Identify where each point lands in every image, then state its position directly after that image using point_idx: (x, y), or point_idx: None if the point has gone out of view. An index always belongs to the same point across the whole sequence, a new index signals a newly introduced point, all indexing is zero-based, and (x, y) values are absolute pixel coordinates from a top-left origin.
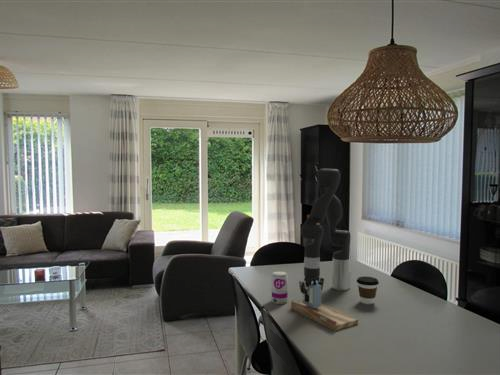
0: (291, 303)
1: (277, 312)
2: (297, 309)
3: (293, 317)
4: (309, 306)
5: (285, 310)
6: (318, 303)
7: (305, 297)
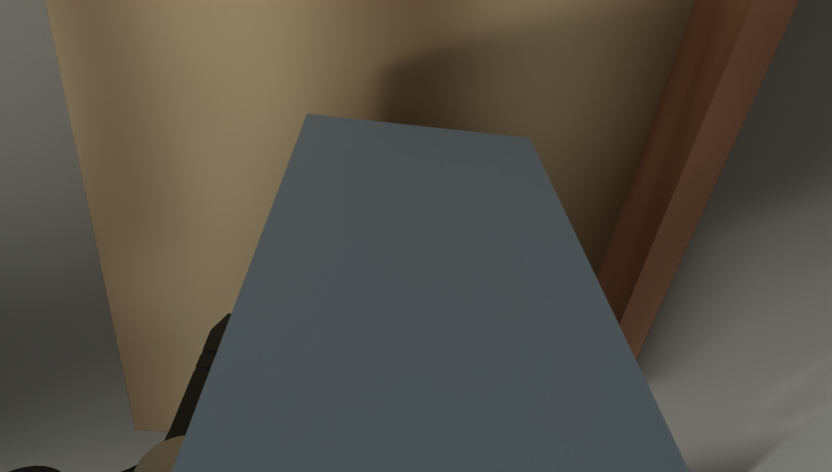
0: None
1: (757, 418)
2: None
3: (803, 214)
4: None
5: None
6: (387, 156)
7: None
